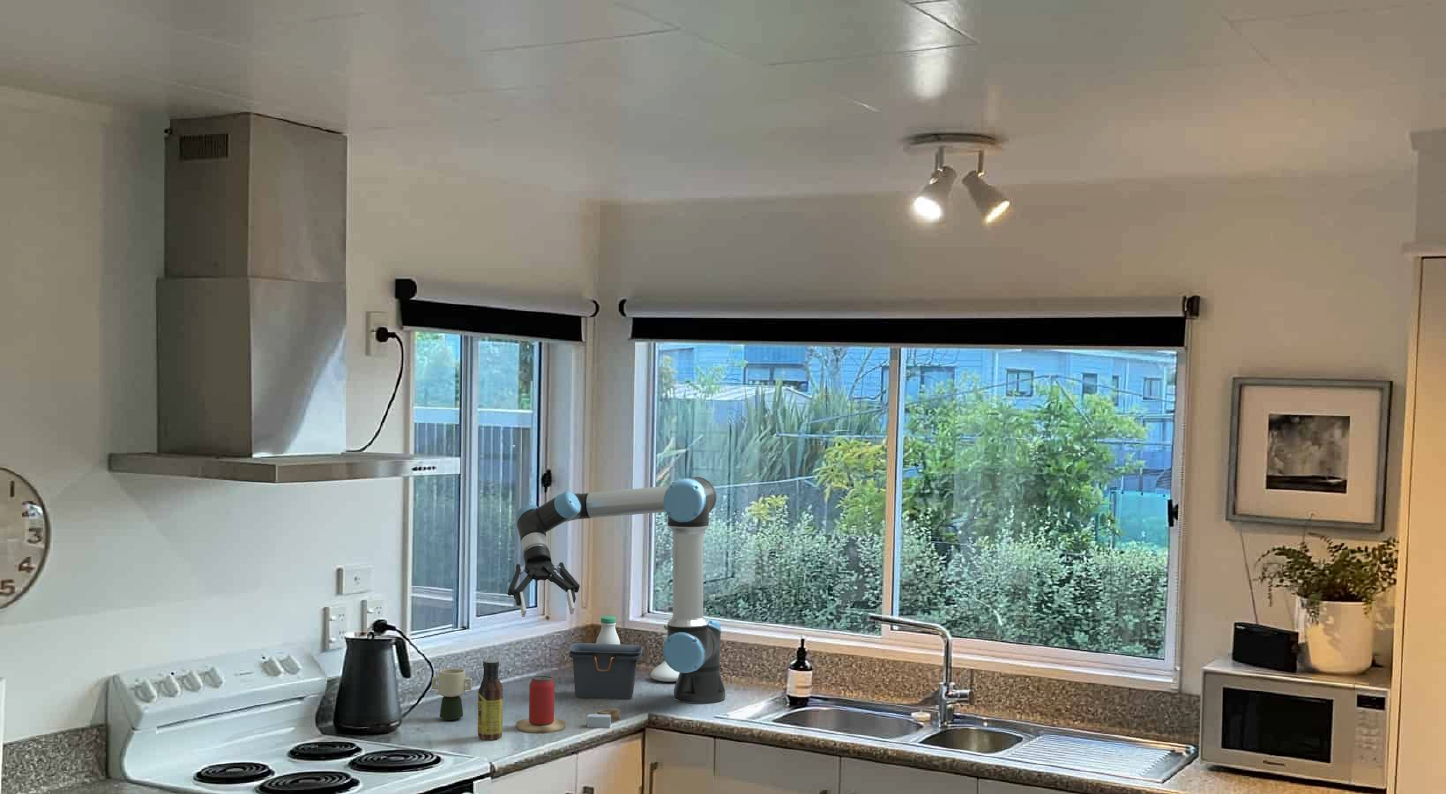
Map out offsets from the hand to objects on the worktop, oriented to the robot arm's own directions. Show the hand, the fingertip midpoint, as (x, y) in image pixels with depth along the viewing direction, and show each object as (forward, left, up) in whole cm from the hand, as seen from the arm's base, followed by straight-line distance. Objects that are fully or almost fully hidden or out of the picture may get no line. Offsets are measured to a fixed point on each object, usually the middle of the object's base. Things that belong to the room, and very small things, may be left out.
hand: (548, 612), depth 379 cm
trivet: (+5, +16, -27) cm, 32 cm away
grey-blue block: (-10, +19, -28) cm, 35 cm away
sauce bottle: (+20, +24, -28) cm, 42 cm away
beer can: (+5, +16, -27) cm, 32 cm away
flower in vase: (-47, -32, -28) cm, 63 cm away
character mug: (+26, +1, -28) cm, 38 cm away
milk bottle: (-27, -34, -28) cm, 51 cm away
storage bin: (-21, -15, -28) cm, 38 cm away
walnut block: (-14, +14, -28) cm, 34 cm away
